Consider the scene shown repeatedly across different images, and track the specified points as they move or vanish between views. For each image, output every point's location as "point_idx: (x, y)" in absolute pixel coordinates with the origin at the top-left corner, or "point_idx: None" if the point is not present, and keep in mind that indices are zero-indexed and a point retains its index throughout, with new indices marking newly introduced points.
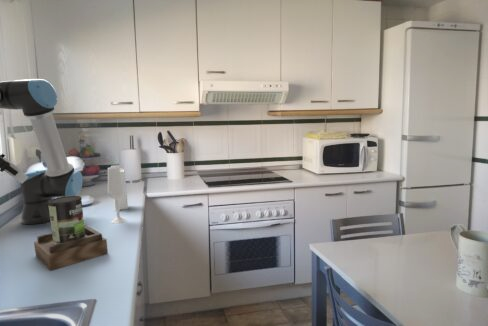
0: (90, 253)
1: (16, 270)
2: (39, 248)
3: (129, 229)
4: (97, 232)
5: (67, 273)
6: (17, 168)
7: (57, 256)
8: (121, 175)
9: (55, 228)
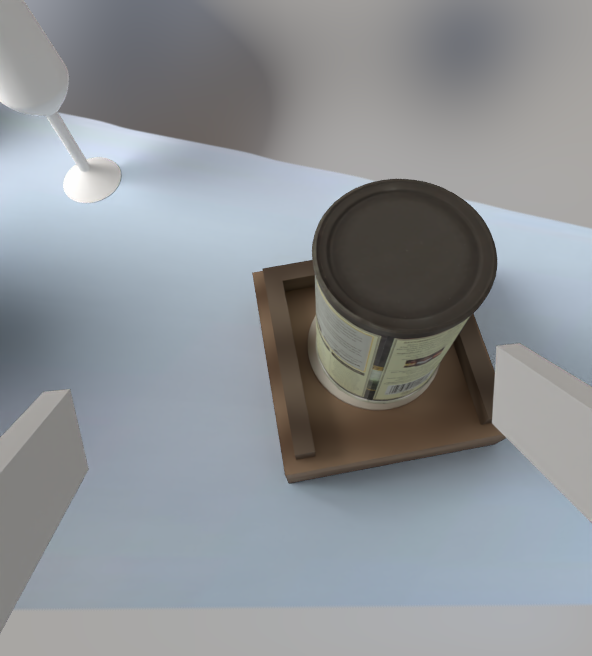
0: None
1: (418, 559)
2: (375, 459)
3: (226, 172)
4: None
5: None
6: (56, 421)
7: None
8: None
9: (433, 367)
